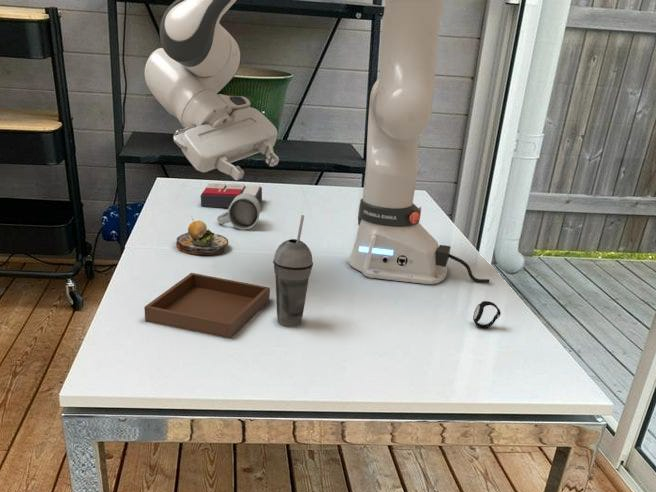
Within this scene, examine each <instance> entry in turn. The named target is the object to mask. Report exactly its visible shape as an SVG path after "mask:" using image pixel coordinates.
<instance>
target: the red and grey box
mask: <svg viewBox="0 0 656 492" xmlns="http://www.w3.org/2000/svg"><path fill="white" fill-rule="evenodd" d="M242 193H248V194H251V195H253V196H255V197H256V199H257V200H258V201H259V204H260V205H261V203H262V202H263V188H262V186H260V185H245V184H240V183H239V184H238V183H237V184H235V183H227V184H226V183H213V182H212V183H211V182H209V183H208V185H207V186H206V187H205V188H204V190H203V191H202V192H201V194H200V206H201V207H204V208H205V207H208V208H228V209H229V206H230V204H231V203H232V201H233V200H234V198H235V197H236V196H238V195H240V194H242Z"/></svg>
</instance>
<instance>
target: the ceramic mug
mask: <svg viewBox="0 0 656 492" xmlns="http://www.w3.org/2000/svg"><path fill="white" fill-rule="evenodd" d="M260 214H261V203H260V204H259V201H258V200H257V199H256V197H255V196H253V195H251V194H248V193H242V194H240V195H238V196H236V197H235V198H234V200H233V201H232V203H231V204H230V206H229V208H228V209H227V211H226V212H224V213H221V214H219V215H218V217H216V221H217V222H218V224H219V225H225V224H228V223H231V225H232V226H233V227H234V228H236V229H238V230H241V231H247V230H251V229H253V228H254V227H255V226H256V225H257V223H258V222H259V219H260Z"/></svg>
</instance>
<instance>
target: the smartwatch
mask: <svg viewBox="0 0 656 492" xmlns="http://www.w3.org/2000/svg"><path fill="white" fill-rule="evenodd" d="M487 306H491V307H494V308H495V309H496V313H495V315H494V316H493V317H492V319H491V320H490V321H489V322H488V323H486V324H481V323H479V321H480V320H481V318H482V316H483V314H484V310H485V307H487ZM501 313H502V312H501V309H500V308H499V307H498V306H497V304H495V303H494V302H492V301H489V300H483V301H481V302H480V303H479V304H477V305H476V306H475V310H474V312H473V316H472V320H473V323H474V324H475V326H476V327H478V328H480V329H483V330H484V329H485V330H486V329H489V328H490V327H492V326H493V325H494V324H495V323H496V321H497V320H498V319H499V317H501Z"/></svg>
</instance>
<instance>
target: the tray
mask: <svg viewBox="0 0 656 492" xmlns="http://www.w3.org/2000/svg"><path fill="white" fill-rule="evenodd" d="M270 298H271V287H268V286H265V285H264V286H263V285H259V284H254V283H248V282H242V281H238V280H232V279H231V280H230V279H228V278H222V277H216V276H211V275H206V274H200V273H195V272H190V273H189V274H187V275H186V276H184V278H182V279H181V280H179V281H177V282H176V283H175V284H174V285H172V286H171V287H169V288H168V289H167V290H166V291H164V292H163V293H161V294H160V295H159V296H157V297H156V298H154V299H153V300H152V301H150V302H148V304H146V305H145V306H144V321H145V322H146V323H147V322H148V323H152V324H157V325H161V326H165V327H171V328H176V329H180V330H181V329H182V330H187V331H190V332H196V333H199V334H205V335H210V336H214V337H220V338H225V339H229V340H231V339H233V338H234V337H235V336H236V335H237V334H238V333H239V332H240V331H241V330H242V329H243V328H245V326H246V325H247V324H248V323H249V322H250V321H251V320H252V319H253V318H254V317H255V316H256V315H257V314H258V313H259V312H261V310H262V309H263V308H264V307H266V305H267V304H269V302H270V300H271V299H270Z"/></svg>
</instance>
